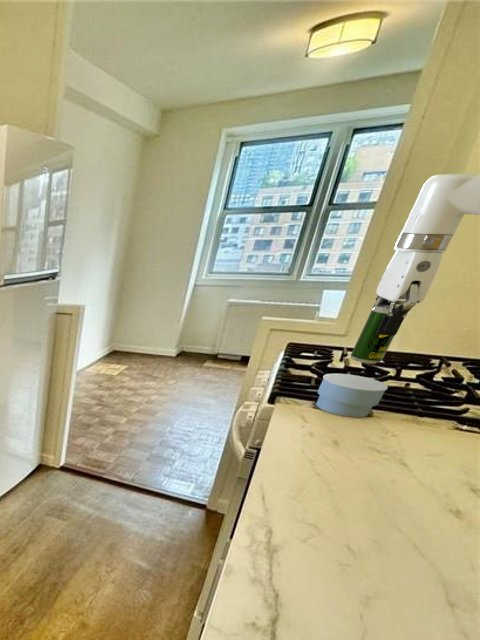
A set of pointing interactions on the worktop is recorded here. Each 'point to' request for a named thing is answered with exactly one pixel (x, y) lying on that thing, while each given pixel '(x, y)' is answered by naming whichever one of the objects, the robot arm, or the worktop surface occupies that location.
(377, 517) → the worktop surface
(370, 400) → the yogurt tub
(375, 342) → the beer can
